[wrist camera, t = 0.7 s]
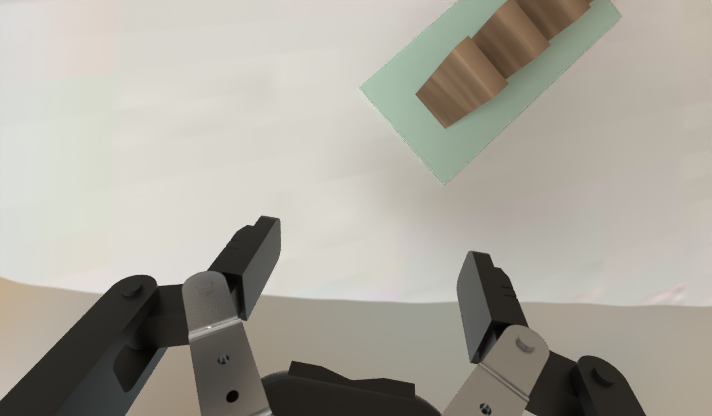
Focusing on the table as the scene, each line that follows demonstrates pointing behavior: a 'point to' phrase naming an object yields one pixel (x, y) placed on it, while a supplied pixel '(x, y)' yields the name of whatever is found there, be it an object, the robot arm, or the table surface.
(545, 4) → the domino
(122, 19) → the table surface
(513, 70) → the domino
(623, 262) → the table surface
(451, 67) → the domino
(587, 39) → the felt mat
